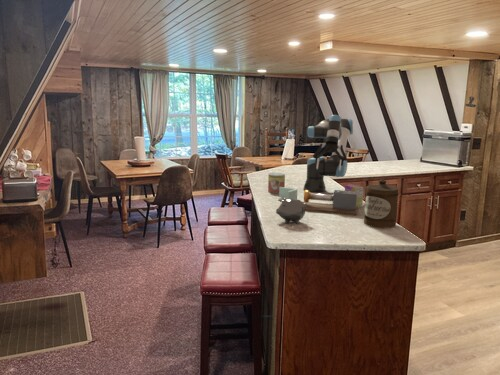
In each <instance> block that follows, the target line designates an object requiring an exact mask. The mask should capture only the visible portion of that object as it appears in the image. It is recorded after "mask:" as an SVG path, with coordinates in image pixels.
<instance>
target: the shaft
mask: <svg viewBox="0 0 500 375" xmlns="http://www.w3.org/2000/svg"><path fill="white" fill-rule="evenodd" d="M310 200H312V201H322V202H327V201H328V202H333V194H323V193H316V192H312V193H311V192H309V190H304V192H303V202H310Z"/></svg>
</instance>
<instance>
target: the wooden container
mask: <svg viewBox="0 0 500 375" xmlns="http://www.w3.org/2000/svg"><path fill="white" fill-rule="evenodd" d="M365 188H366V189H365V200H364V201H365V203H364V212H363V216H364V217H363V224H364V225H365V226H369V227H372V228H376V229H391V228H395V227H396V226H397V218H398V217H397V216H398V198H399V188H398V187H396V186H393V185H387V180H386V179H382V178H381V179H379V180H378V184H370V185H367V186H365Z"/></svg>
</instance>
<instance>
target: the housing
mask: <svg viewBox="0 0 500 375" xmlns="http://www.w3.org/2000/svg"><path fill="white" fill-rule="evenodd" d="M332 195H333V201H332V204H333V209H339V210H351V211H355V210H356V200H357V192H355V191H345V190H340V189H337V190H336V189H334V191H333V193H332Z"/></svg>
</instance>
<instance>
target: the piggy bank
mask: <svg viewBox="0 0 500 375" xmlns="http://www.w3.org/2000/svg"><path fill="white" fill-rule="evenodd" d="M303 202H304V201H302V200H299V199H298V198H297V199H286V198H283V201H281V203H280V205H279V206H278V208H276V210H275V213H276V214H277V215H278V216H279V217H280V218H282V219H283V220H284V222H285V224H287V225H288V224H290V222H293V223H294V224H295V225H299V221H300V220H302V219H303V218H304V216H305V214H306V212H307V211H306V208H307V206H308V205H307V204H304V203H303Z"/></svg>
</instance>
